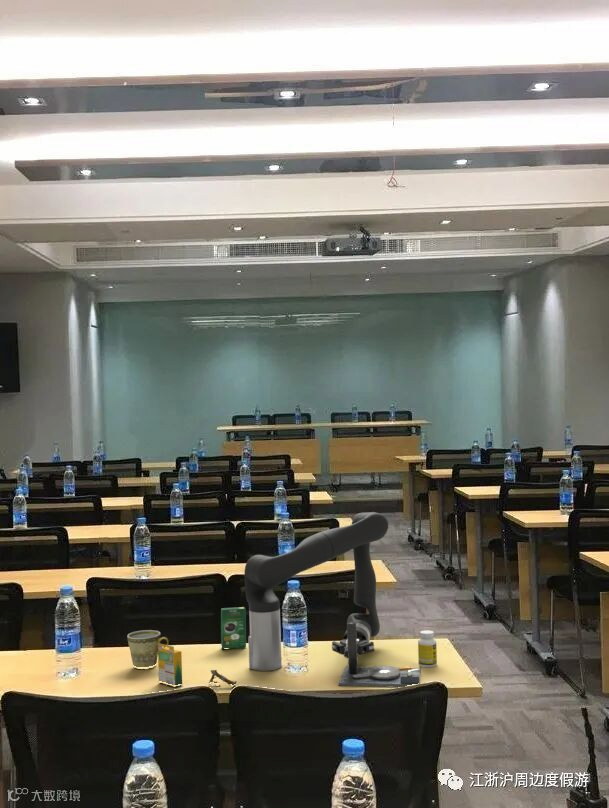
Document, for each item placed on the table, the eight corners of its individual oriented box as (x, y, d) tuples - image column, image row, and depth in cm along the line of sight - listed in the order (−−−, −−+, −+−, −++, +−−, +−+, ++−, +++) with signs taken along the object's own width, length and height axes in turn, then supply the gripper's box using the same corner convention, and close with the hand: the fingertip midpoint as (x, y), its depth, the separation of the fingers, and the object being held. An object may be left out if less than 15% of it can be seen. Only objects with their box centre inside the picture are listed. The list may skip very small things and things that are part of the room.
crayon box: (183, 685, 241) (181, 644, 241) (174, 688, 239) (173, 646, 239) (166, 680, 246) (165, 640, 246) (158, 683, 244) (157, 642, 244)
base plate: (338, 685, 236) (338, 671, 236) (345, 669, 251) (344, 656, 251) (419, 687, 232) (418, 672, 233) (420, 670, 247) (420, 657, 247)
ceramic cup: (122, 671, 257) (121, 638, 257) (136, 661, 266) (135, 629, 267) (162, 673, 254) (161, 639, 254) (175, 663, 263) (174, 630, 264)
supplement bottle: (436, 668, 249) (435, 634, 249) (418, 667, 250) (416, 634, 250) (437, 662, 254) (436, 629, 255) (419, 662, 256) (418, 629, 256)
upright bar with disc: (405, 667, 248) (403, 614, 248) (416, 676, 239) (414, 621, 239) (344, 673, 244) (343, 620, 244) (353, 682, 235) (351, 627, 235)
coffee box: (245, 645, 281) (244, 605, 281) (247, 648, 278) (245, 607, 278) (221, 648, 279) (219, 607, 279) (222, 650, 276) (221, 609, 276)
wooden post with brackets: (208, 681, 242) (213, 666, 241) (231, 694, 239) (237, 680, 239) (205, 683, 240) (210, 668, 239) (228, 696, 237) (234, 682, 237)
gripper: (334, 625, 259) (325, 641, 242) (378, 626, 257) (371, 641, 240) (335, 650, 259) (326, 667, 242) (378, 651, 257) (372, 668, 240)
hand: (348, 654), depth 241 cm, fingers closed
